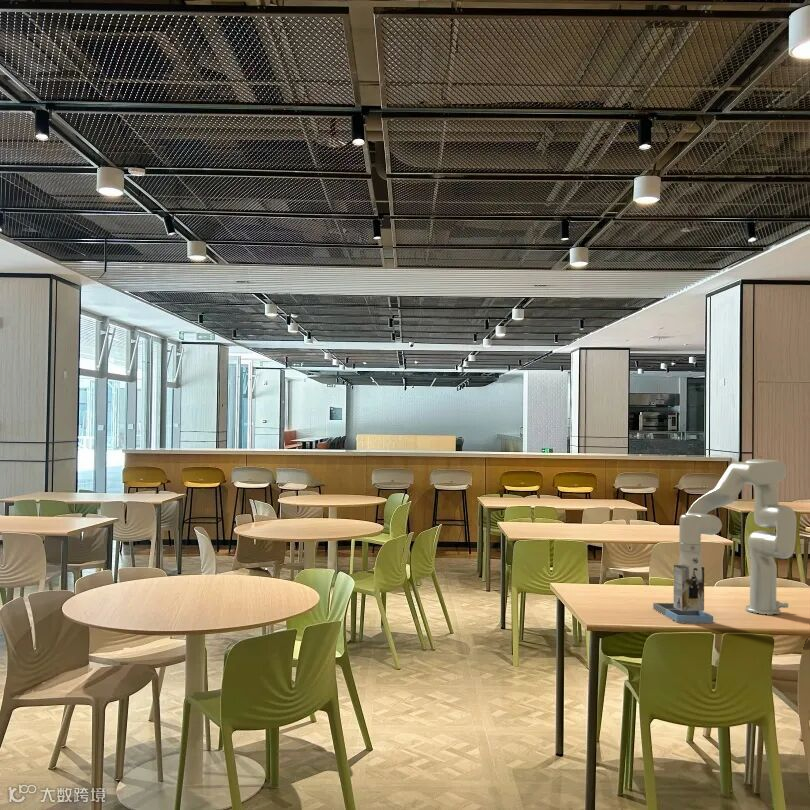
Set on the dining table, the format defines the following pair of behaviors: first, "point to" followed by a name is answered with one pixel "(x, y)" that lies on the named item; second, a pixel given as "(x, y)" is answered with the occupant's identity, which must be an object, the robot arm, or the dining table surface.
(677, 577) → the coffee box
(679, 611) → the bay tray
